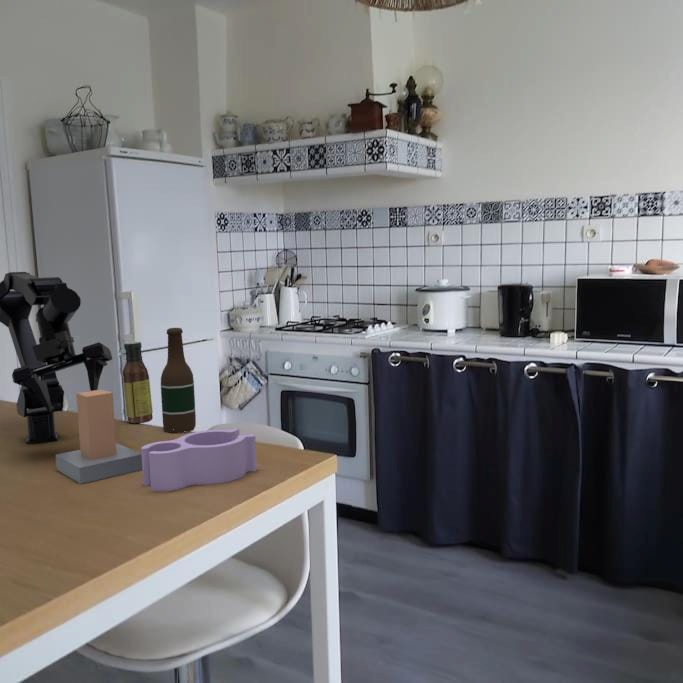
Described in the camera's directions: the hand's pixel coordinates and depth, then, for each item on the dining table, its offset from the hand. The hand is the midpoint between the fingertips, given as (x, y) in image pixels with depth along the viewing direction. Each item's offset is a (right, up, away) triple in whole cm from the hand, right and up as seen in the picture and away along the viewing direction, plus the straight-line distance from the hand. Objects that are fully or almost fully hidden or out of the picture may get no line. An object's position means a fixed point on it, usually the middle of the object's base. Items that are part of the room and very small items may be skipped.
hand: (72, 404), depth 139 cm
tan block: (+8, -9, -7) cm, 14 cm away
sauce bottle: (+4, -7, +33) cm, 34 cm away
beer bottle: (+16, -8, +24) cm, 30 cm away
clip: (+28, -13, -12) cm, 33 cm away
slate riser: (+8, -12, -6) cm, 16 cm away
